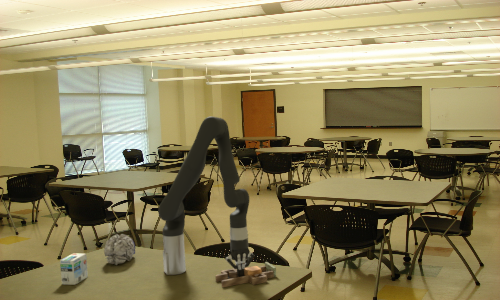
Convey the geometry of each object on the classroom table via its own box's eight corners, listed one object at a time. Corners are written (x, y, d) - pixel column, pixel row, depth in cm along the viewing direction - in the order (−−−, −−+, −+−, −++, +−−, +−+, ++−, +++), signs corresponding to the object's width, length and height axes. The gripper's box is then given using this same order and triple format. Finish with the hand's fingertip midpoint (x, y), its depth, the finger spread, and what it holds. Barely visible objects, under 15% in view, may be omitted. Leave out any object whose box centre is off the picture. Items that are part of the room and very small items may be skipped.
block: (248, 280, 194) (248, 271, 194) (244, 277, 199) (243, 268, 198) (261, 278, 196) (261, 269, 196) (256, 274, 201) (256, 265, 201)
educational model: (137, 269, 235) (140, 239, 240) (127, 263, 216) (130, 230, 222) (110, 269, 235) (113, 239, 241) (97, 263, 217) (101, 230, 222)
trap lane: (225, 290, 185) (225, 280, 184) (212, 278, 199) (212, 269, 199) (280, 279, 194) (279, 269, 194) (263, 268, 209) (263, 259, 208)
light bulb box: (75, 285, 199) (73, 260, 198) (61, 284, 200) (59, 260, 199) (88, 276, 209) (86, 253, 208) (75, 276, 211) (73, 252, 210)
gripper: (250, 232, 200) (252, 272, 201) (221, 237, 195) (223, 277, 196) (257, 236, 193) (259, 277, 195) (227, 241, 188) (229, 283, 189)
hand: (241, 277), depth 195 cm, fingers closed
